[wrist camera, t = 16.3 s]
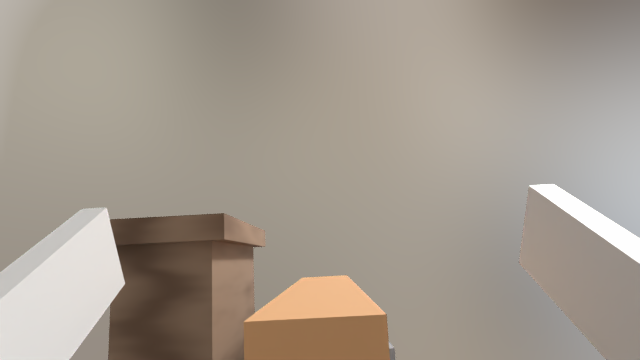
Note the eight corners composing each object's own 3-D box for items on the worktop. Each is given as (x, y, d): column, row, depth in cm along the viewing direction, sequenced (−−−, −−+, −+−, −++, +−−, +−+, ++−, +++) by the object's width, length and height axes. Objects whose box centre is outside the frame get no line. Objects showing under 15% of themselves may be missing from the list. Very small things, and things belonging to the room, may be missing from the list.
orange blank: (245, 439, 11) (243, 321, 12) (303, 312, 37) (302, 277, 37) (395, 432, 11) (386, 314, 12) (349, 310, 37) (346, 275, 37)
